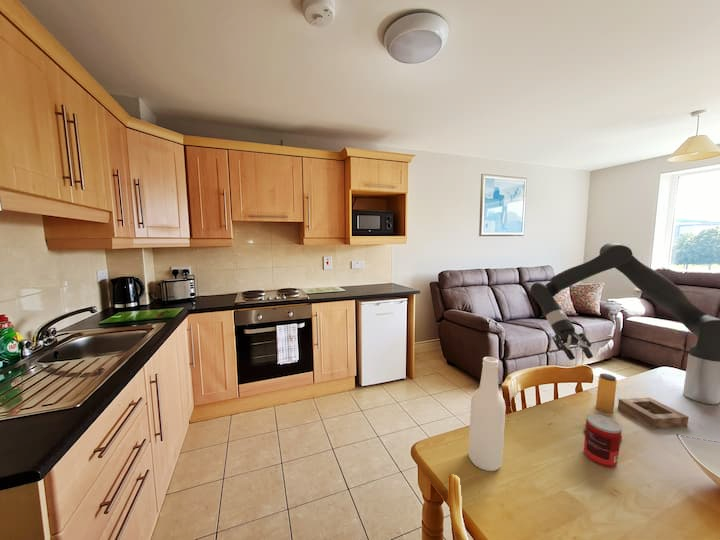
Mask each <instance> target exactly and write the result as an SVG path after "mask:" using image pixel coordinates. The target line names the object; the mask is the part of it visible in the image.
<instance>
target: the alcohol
mask: <svg viewBox="0 0 720 540" xmlns="http://www.w3.org/2000/svg"><path fill="white" fill-rule="evenodd" d="M499 363H500V362H499V360H498V359H497V358H495V357H492V356H484V357H483V358H482V369H481V376H480V382H479V386H478V388H477V389H476V390H475V391H473V393H472V396H471V398H470V415H469V431H468V433H469V434H468V435H469V436H468V453H467V454H468V457H469V459H470V461H471V462H472V464H473V465H474V466H476V467H477V468H479V469H480V470H482V471H487V472H494V471H495V472H496V471H497V470H498V469H499V468H501V467H502V465H503V453H504V452H503V451H504V436H505V423H506V409H507V408H506V407H507V406H506V401H505V398H504V397H503V396H502V394H501V393H500V391H499V390H500V389H499Z"/></svg>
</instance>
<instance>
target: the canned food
mask: <svg viewBox="0 0 720 540" xmlns="http://www.w3.org/2000/svg"><path fill="white" fill-rule="evenodd" d="M586 419H587V421H586V420H585V422H586V431H584V432H585V433H584V443H583V451H584V454H585V456H586V457H587V458H588V459H589V460H590V461H592V462H594V464H597V465H599V466H602V467H606V468H613V467H616V466H617V464H618V462H619V454H620V445H621V442H620V440H621V435H622V426H621V424H620V423H618V422H617V421H615V420H614V419H612V418H611V417H608V416H606V415H602V414H597V413H591V414H588V415H587V417H586ZM621 441H622V440H621Z"/></svg>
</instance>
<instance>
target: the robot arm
mask: <svg viewBox="0 0 720 540" xmlns="http://www.w3.org/2000/svg"><path fill="white" fill-rule="evenodd" d="M611 269H616V270H617V271H618V272H620V273H622V274H623V275H624V276H625V277H626V278H627V279H628V280H629V281H630V282H631V283H632V284H633V285H634V286H635V287H636V288H637V289H638V290H640V291H641V292H642V293H643V294H644V295H645V296H647V297H648V298H649V299H650V300H651V301H653V302H654V303H655V304H657V305H658V306H659V307H661V308H663V309H665V310H666V311H667V312H669V313H671V314H672V315H673V316H674V317H675V318H677V320H678V321H679V322H681V323H682V325H683V326H685V328H686V329H687V330H688V331H690V333H691V334H693V335H695V337H697V339H696V340H697V341H696V345H691V346H690V347H689V349H688V354H687V363H686V370H685V377H684V383H683V390H682V392H683V393H682V394H683V396H685V397H686V398H688V399H690V400H693V401H695V402H699V403H702V404H707V405H719V403H720V318H718V317H715V316H712V315H710V314H708V313H706V312H705V311H704V310H702V309H700V308H699V307H698V306H696V305H695V304H693V303H692V302H691V301H690V300H689V298H687V296H686V294H685V293H684V292H683V290H682V289H681V288H680V287H678V285H676V284H675V283H674V282H673V281H671V280H670V279H669V278H667V277H666V276H665V275H663V274H661V273H660V272H658V271H656V270H655V269H653V268H651V267H649V266H647V265H646V264H644V263H642V262H641V261H640V260H639V259H637V258H636V257H635V256H634V255H633V251H632V249H631V248H630V247H629V246H627V245H625V244H622V243H620V242H609V243H608V242H607V243H606V244H604V245H603V246H601V248H600V250H599V255H597V256H596V257H594V258H593V259H590V260H589V261H586V262H585V263H581V264H579V265H578V264H577V265H576V266H572V267H570V268H567V269H565V270H563V271H562V272H560V273H557V274H555V275H553V276H551V278H550V281H549V282H548V283H546V284H545V283H543V282H540V281H539V282H534V283H533V284H532V285H531V286H530V291H529V292H530V294H531V295H532V297H533V299H534V300H535V301H536V302H537V304H538V305H539V307H540V308H541V311H542V313H543V314H544V316H545V318H546V320H547V322H548V324H549V325H550V327H551V329H552V331H553V332H554V334H555V335H553V336H552V337H551V338H552V340H553V342H554V344H555V346H556V349H557V350H558V351H563V352H564V354H565V355H566V357H567V358H568V359H569V360H570V361H573V360H574V359H576V356H575V355H574V354H573V352H572V350H571V349H570V346H575V347H577V348H579V349H581V350H582V352H583V353H584V355H585V357H586V358H587V359H592V358H593V357H594V354H593V353H592V351H591V350H590V348H591V346H592V344H591V342H590V341H589V340H588V338H587V337H586V335H585V334H584V332H581V333H576V329H575V327H574V324H573V323H572V322H571V320H570V319H569V317H568V316H567V314H566V313H565V312H564V310H563V308H562V307H561V306H560V304H559V303H558V302H557V300H556V299H555V298H554V297H555V296H556V295H558V294H559V293H560V292H561V291H563V290H565V289H568V288H570V287H571V286H574V285H575V284H577V283H579V282H581V281H584V280H586V279H588V278H591V277H593V276H595V275H598V274H600V273H603V272H605V271H609V270H611Z"/></svg>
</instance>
